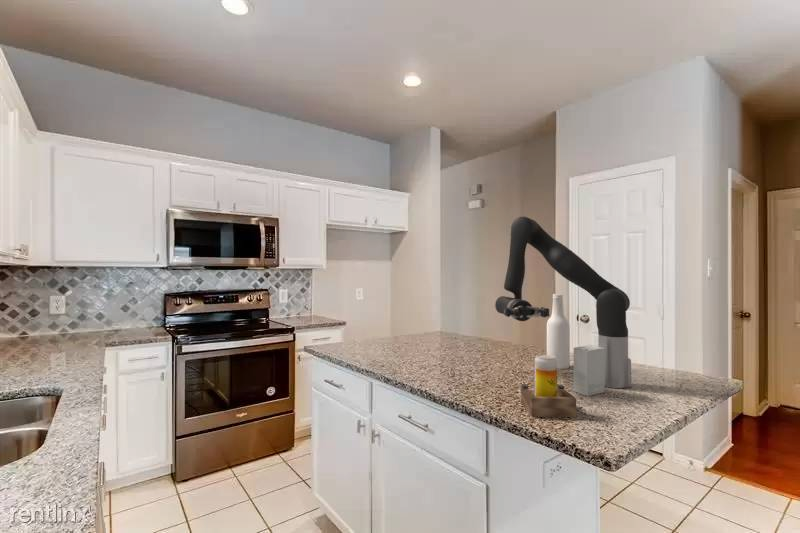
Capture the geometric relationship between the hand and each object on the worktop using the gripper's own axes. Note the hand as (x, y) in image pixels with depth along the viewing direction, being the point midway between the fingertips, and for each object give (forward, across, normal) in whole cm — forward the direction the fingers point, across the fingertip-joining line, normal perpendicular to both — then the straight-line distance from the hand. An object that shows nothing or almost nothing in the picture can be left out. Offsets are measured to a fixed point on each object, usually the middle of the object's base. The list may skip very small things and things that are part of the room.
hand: (532, 314), depth 133 cm
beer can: (+14, 0, +26) cm, 30 cm away
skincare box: (-2, +19, +26) cm, 32 cm away
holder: (+14, 0, +26) cm, 29 cm away
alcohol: (-37, +21, +26) cm, 50 cm away
